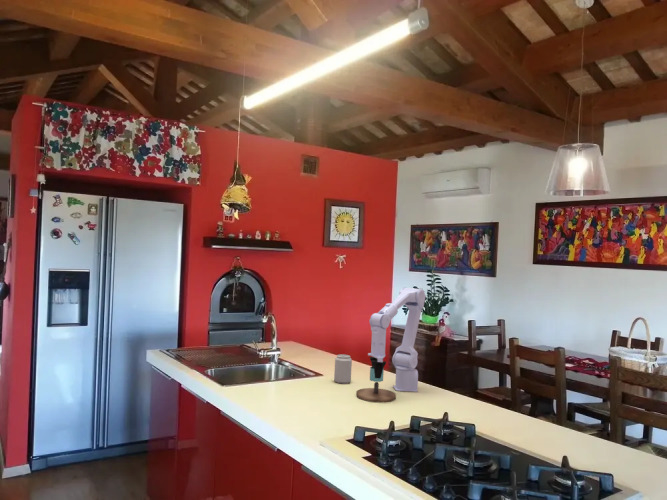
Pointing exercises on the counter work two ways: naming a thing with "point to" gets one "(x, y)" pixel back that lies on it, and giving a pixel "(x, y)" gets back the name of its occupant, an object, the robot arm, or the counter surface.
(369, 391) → the stand
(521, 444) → the counter surface
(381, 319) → the robot arm
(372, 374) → the collar
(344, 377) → the can
